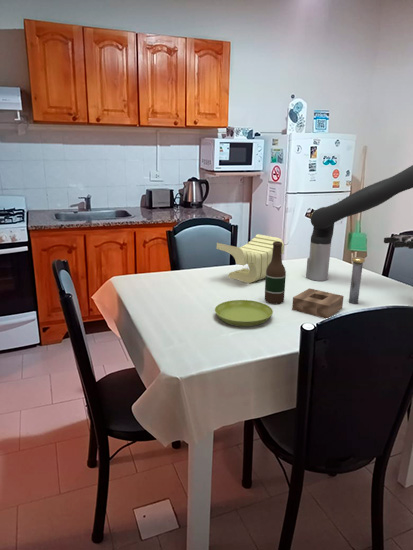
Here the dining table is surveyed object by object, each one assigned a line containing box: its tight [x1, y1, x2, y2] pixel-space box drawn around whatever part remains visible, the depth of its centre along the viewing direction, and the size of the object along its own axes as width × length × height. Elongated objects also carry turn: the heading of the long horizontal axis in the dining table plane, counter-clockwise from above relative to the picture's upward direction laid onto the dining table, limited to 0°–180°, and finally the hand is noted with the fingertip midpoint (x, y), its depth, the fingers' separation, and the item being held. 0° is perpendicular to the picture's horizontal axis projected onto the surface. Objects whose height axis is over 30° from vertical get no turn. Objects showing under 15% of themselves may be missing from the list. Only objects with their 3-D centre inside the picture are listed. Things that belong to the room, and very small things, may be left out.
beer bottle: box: [264, 242, 287, 305], centre depth 162 cm, size 8×8×24 cm
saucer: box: [214, 299, 274, 327], centre depth 149 cm, size 21×21×3 cm
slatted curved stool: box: [216, 233, 285, 284], centre depth 194 cm, size 30×16×18 cm, turn 136°
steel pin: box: [348, 256, 366, 305], centre depth 162 cm, size 5×5×18 cm
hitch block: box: [291, 288, 344, 320], centre depth 157 cm, size 14×14×5 cm
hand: (388, 242), depth 158 cm, fingers open, 8 cm apart
